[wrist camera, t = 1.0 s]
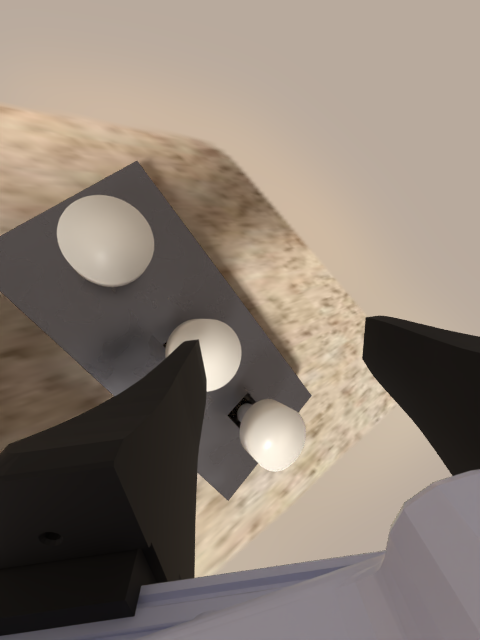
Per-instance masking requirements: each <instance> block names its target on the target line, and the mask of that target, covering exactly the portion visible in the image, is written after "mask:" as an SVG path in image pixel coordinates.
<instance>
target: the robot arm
mask: <svg viewBox="0 0 480 640" xmlns="http://www.w3.org/2000/svg"><path fill="white" fill-rule="evenodd" d="M362 359H363V360H364V362H365V364H366V365H367V367H368V369H369V370H370V372H371V373H372V374H373V376H374V377H375V378H376V380H377V381H378V382H379V383H380V384H381V385H382V387H383V388H384V389H385V390H386V391H387V392H388V393H389V394H390V396H391V397H392V398H393V399H394V400H395V401H396V402H397V403H398V404H399V406H400V407H401V408H402V409H403V410H404V411H405V412H406V413H407V414H408V416H409V417H410V418H411V419H412V420H413V421H414V423H415V424H416V425H417V426H418V427H419V429H420V430H421V431H422V433H423V434H424V435H425V437H426V438H427V439H428V441H429V442H430V444H431V445H432V447H433V448H434V449H435V451H436V452H437V454H438V455H439V457H440V458H441V459H442V461H443V462H444V464H445V465H446V467H447V468H448V470H449V471H450V473H451V474H452V477H449V478H445V479H442V480H439V481H436V482H433V483H432V484H430V485H429V486H427V487H426V488H424V489H423V490H422V491H420V492H419V493H417V494H416V495H414V496H413V497H412V498H410V499H409V500H407V501H406V502H404V504H403V506H402V508H401V509H400V511H399V513H398V514H397V516H396V518H395V520H394V521H393V523H392V525H391V528H390V532H389V535H388V541H387V546H386V550H384V551H378V552H370V553H364V554H357V555H350V556H343V557H336V558H329V559H323V560H315V561H308V562H302V563H295V564H288V565H281V566H274V567H267V568H260V569H254V570H246V571H240V572H233V573H226V574H219V575H212V576H205V577H198V578H194V567H195V516H196V488H197V467H198V453H199V445H200V438H201V432H202V425H203V419H204V412H205V405H206V394H207V379H206V373H205V368H204V363H203V358H202V353H201V348H200V343H199V339H197V340H189V341H184V342H183V343H181V344H180V345H179V346H178V347H177V348H176V349H175V350H174V351H173V352H172V353H171V354H170V355H169V356H168V357H166V358H165V359H164V360H163V361H162V362H161V363H160V364H159V365H157V366H156V367H155V368H154V369H153V370H151V371H150V372H149V373H148V374H147V375H145V376H144V377H143V378H142V379H140V380H139V381H137V382H136V383H135V384H133V385H132V386H130V387H129V388H127V389H126V390H124V391H123V392H121V393H120V394H118V395H116V396H114V397H113V398H111V399H109V400H107V401H106V402H104V403H102V404H100V405H99V406H97V407H95V408H93V409H91V410H89V411H87V412H85V413H83V414H81V415H79V416H77V417H75V418H72V419H70V420H68V421H66V422H64V423H62V424H59V425H57V426H55V427H52V428H50V429H47V430H45V431H42V432H40V433H37V434H35V435H32V436H30V437H27V438H25V439H22V440H20V441H17V442H14V443H11V444H9V445H8V446H7V447H6V448H5V449H4V450H3V451H2V452H1V453H0V640H480V337H478V336H473V335H468V334H463V333H458V332H453V331H448V330H444V329H439V328H435V327H431V326H427V325H423V324H418V323H415V322H410V321H407V320H402V319H398V318H393V317H387V316H373V317H366V321H365V333H364V345H363V357H362Z"/></svg>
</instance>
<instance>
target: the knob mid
mask: <svg viewBox="0 0 480 640" xmlns="http://www.w3.org/2000/svg"><path fill="white" fill-rule="evenodd" d="M197 339H199V343H200V348H201V353H202V358H203V363H204V368H205V373H206V379H207V392H208V391H213V390H216V389H219V388H221V387H223V386H224V385H226V384H227V383H228V382H229V381H230V380H231V379H232V378H233V377H234V375H235V374H236V372H237V370H238V368H239V365H240V361H241V345H240V341H239V339H238V337H237V335H236V333H235V332H234V330H233V329H232V328H231V327H230V326H228V325H227V324H225V323H224V322H221V321H218V320H214V319H191V320H188V321H185V322H183V323H182V324H180V325H179V326H177V327H176V328H175V329H174V330H173V332H172V333H171V335H170V336H169V338H168V341H167V344H166V349H165V357H168V356H169V355H170V354H171V353H172V352H173V351H174V350H175V349H176V348H177V347H178V346H179V345H180V344H181V343H183V342H184V341H189V340H197Z"/></svg>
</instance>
